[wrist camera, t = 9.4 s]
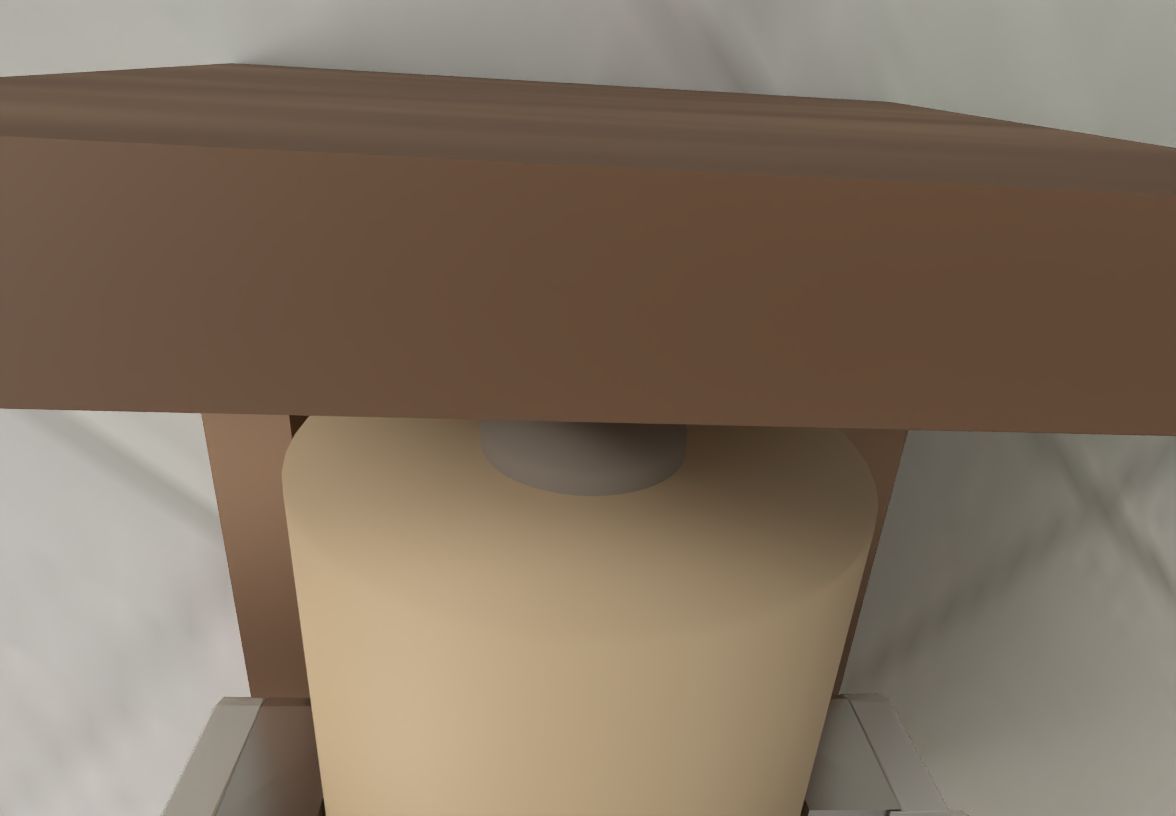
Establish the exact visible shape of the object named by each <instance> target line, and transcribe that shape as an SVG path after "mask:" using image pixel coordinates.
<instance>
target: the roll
mask: <svg viewBox="0 0 1176 816" xmlns="http://www.w3.org/2000/svg"><path fill="white" fill-rule="evenodd" d="M282 486H283V497H284V505H285V512H286V520H287V527H288V535H289V542H290V550H291V557H292V564H293V572H294V579H295V587H296V594H297V602H298V609H299V617H300V624H301V632H302V639H303V647H304V654H305V662H306V669H307V677H308V684H309V692H310V699H311V707H312V714H313V722H314V729H315V737H316V744H317V752H318V759H319V767H320V774H321V782H322V789H323V797H324V804H325V812H326V816H800V814H801V810H802V806H803V803H804V799H805V795H806V791H807V787H808V783H809V780H810V776H811V772H812V768H813V764H814V760H815V756H816V753H817V749H818V745H819V741H820V737H821V733H822V729H823V726H824V722H825V718H826V714H827V710H828V706H829V703H830V699H831V695H832V691H833V687H834V683H835V679H836V676H837V672H838V668H839V664H840V660H841V656H842V653H843V649H844V645H845V641H846V637H847V633H848V629H849V626H850V622H851V618H852V614H853V610H854V606H855V602H856V599H857V595H858V591H859V587H860V583H861V579H862V576H863V572H864V568H865V564H866V560H867V556H868V552H869V549H870V545H871V541H872V537H873V533H874V529H875V525H876V518H877V512H878V498H877V490H876V485H875V482H874V479H873V477H872V474H871V472H870V469H869V467H868V465H867V463H866V462H865V460H864V459H863V457H862V456H861V454H860V453H859V451H858V449H857V448H856V447H855V446H854V445H853V444H852V443H851V442H850V440H849V439H848V438H847V437H846V436H845V435H844V434H843V433H842V432H841V431H840V430H839V429H838V428H815V427H772V426H729V425H687V424H644V423H602V422H559V421H516V420H474V419H431V418H388V417H346V416H309V417H308V418H307V419H306V421H305V422H304V423H303V425H302V426H301V427H300V428H299V430H298V431H297V432H296V433H295V435H294V437H293V439H292V441H291V443H290V445H289V447H288V449H287V451H286V454H285V458H284V463H283V468H282Z"/></svg>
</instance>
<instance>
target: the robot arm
mask: <svg viewBox="0 0 1176 816" xmlns="http://www.w3.org/2000/svg"><path fill="white" fill-rule="evenodd" d="M161 816H326V812H325V804H324V797H323V789H322V782H321V774H320V767H319V759H318V752H317V744H316V737H315V729H314V722H313V714H312V707H311V699H310V698H293V697H268V698H253V697H224V698H223V699H222V700H221V701H220V702H219V703H218V704H217V705H216V706H215V707H214V708H213V710H212V712H211V714H210V716H209V718H208V720H207V722H206V724H205V726H204V728H203V730H202V732H201V734H200V736H199V738H198V740H197V742H196V744H195V746H194V748H193V750H192V753H191V755H190V757H189V759H188V761H187V763H186V765H185V767H184V769H183V771H182V773H181V775H180V777H179V779H178V781H177V783H176V785H175V787H174V789H173V791H172V793H171V796H170V798H169V800H168V802H167V804H166V806H165V808H164V810H163V812H162V814H161ZM800 816H969V815H967V814H966V813H965V812H963V811H954V810H949V808H948V806H947V805H946V803H945V801H944V799H943V797H942V796H941V794H940V792H939V790H938V788H937V786H936V785H935V783H934V781H933V779H932V777H931V776H930V774H929V772H928V770H927V768H926V766H925V765H924V763H923V761H922V759H921V757H920V756H919V754H918V752H917V750H916V748H915V746H914V745H913V743H912V741H911V739H910V737H909V736H908V734H907V732H906V730H905V728H904V726H903V725H902V723H901V721H900V719H899V717H898V716H897V714H896V712H895V710H894V708H893V706H892V705H891V703H890V701H889V700H888V699H887V698H886V697H885V696H884V695H882V694H841V695H838V694H832V695H831V699H830V703H829V706H828V710H827V714H826V718H825V722H824V726H823V729H822V733H821V737H820V741H819V745H818V749H817V753H816V756H815V760H814V764H813V768H812V772H811V776H810V780H809V783H808V787H807V791H806V795H805V799H804V803H803V806H802V810H801V814H800Z"/></svg>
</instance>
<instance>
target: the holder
mask: <svg viewBox="0 0 1176 816" xmlns="http://www.w3.org/2000/svg"><path fill="white" fill-rule="evenodd" d="M0 408H5V409H47V410H90V411H133V412H175V413H201V414H202V420H203V425H204V431H205V437H206V442H207V448H208V454H209V460H210V465H211V471H212V477H213V482H214V488H215V494H216V499H217V505H218V511H219V516H220V522H221V528H222V533H223V539H224V545H225V550H226V556H227V562H228V567H229V573H230V579H231V584H232V590H233V596H234V601H235V607H236V613H237V618H238V624H239V630H240V636H241V641H242V647H243V653H244V658H245V664H246V670H247V675H248V681H249V687H250V692H251V697H253V698H268V697H293V698H310V692H309V684H308V677H307V669H306V662H305V654H304V647H303V639H302V632H301V624H300V617H299V609H298V602H297V594H296V587H295V579H294V572H293V564H292V557H291V550H290V542H289V535H288V527H287V520H286V512H285V505H284V497H283V486H282V468H283V463H284V458H285V454H286V451H287V449H288V447H289V445H290V443H291V441H292V439H293V437H294V435H295V433H296V432H297V431H298V430H299V428H300V427H301V426H302V425H303V423H304V422H305V421H306V419H307V418H308V417H309V416H346V417H388V418H431V419H474V420H516V421H559V422H602V423H644V424H687V425H729V426H772V427H815V428H838V429H839V430H840V431H841V432H842V433H843V434H844V435H845V436H846V437H847V438H848V439H849V440H850V442H851V443H852V444H853V445H854V446H855V447H856V448H857V449H858V451H859V453H860V454H861V456H862V457H863V459H864V460H865V462H866V463H867V465H868V467H869V469H870V472H871V474H872V477H873V479H874V482H875V485H876V490H877V498H878V512H877V518H876V525H875V529H874V533H873V537H872V541H871V545H870V549H869V552H868V556H867V560H866V564H865V568H864V572H863V576H862V579H861V583H860V587H859V591H858V595H857V599H856V602H855V606H854V610H853V614H852V618H851V622H850V626H849V629H848V633H847V637H846V641H845V645H844V649H843V653H842V656H841V660H840V664H839V668H838V672H837V676H836V679H835V683H834V687H833V691H832V694H839V690H840V687H841V683H842V679H843V675H844V671H845V668H846V664H847V660H848V656H849V652H850V649H851V645H852V641H853V637H854V633H855V630H856V626H857V622H858V618H859V614H860V611H861V607H862V603H863V599H864V595H865V592H866V588H867V584H868V580H869V576H870V573H871V569H872V565H873V561H874V557H875V554H876V550H877V546H878V542H879V538H880V535H881V531H882V527H883V523H884V519H885V516H886V512H887V508H888V504H889V500H890V497H891V493H892V489H893V485H894V481H895V478H896V474H897V470H898V466H899V462H900V459H901V455H902V451H903V447H904V443H905V440H906V436H907V432H908V430H942V431H985V432H1028V433H1070V434H1113V435H1156V436H1176V148H1171V147H1165V146H1159V145H1153V144H1146V143H1140V142H1134V141H1128V140H1122V139H1115V138H1109V137H1103V136H1097V135H1091V134H1084V133H1078V132H1072V131H1066V130H1059V129H1053V128H1047V127H1041V126H1035V125H1028V124H1022V123H1016V122H1010V121H1004V120H997V119H991V118H985V117H979V116H973V115H966V114H960V113H954V112H948V111H942V110H935V109H929V108H923V107H917V106H910V105H904V104H898V103H892V102H879V101H862V100H845V99H828V98H811V97H794V96H777V95H760V94H743V93H726V92H709V91H692V90H675V89H658V88H641V87H624V86H607V85H590V84H573V83H556V82H539V81H522V80H505V79H488V78H471V77H454V76H437V75H420V74H403V73H386V72H369V71H352V70H335V69H318V68H301V67H284V66H267V65H250V64H233V63H230V64H213V65H196V66H180V67H163V68H146V69H129V70H113V71H96V72H79V73H63V74H46V75H29V76H12V77H0Z"/></svg>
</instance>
